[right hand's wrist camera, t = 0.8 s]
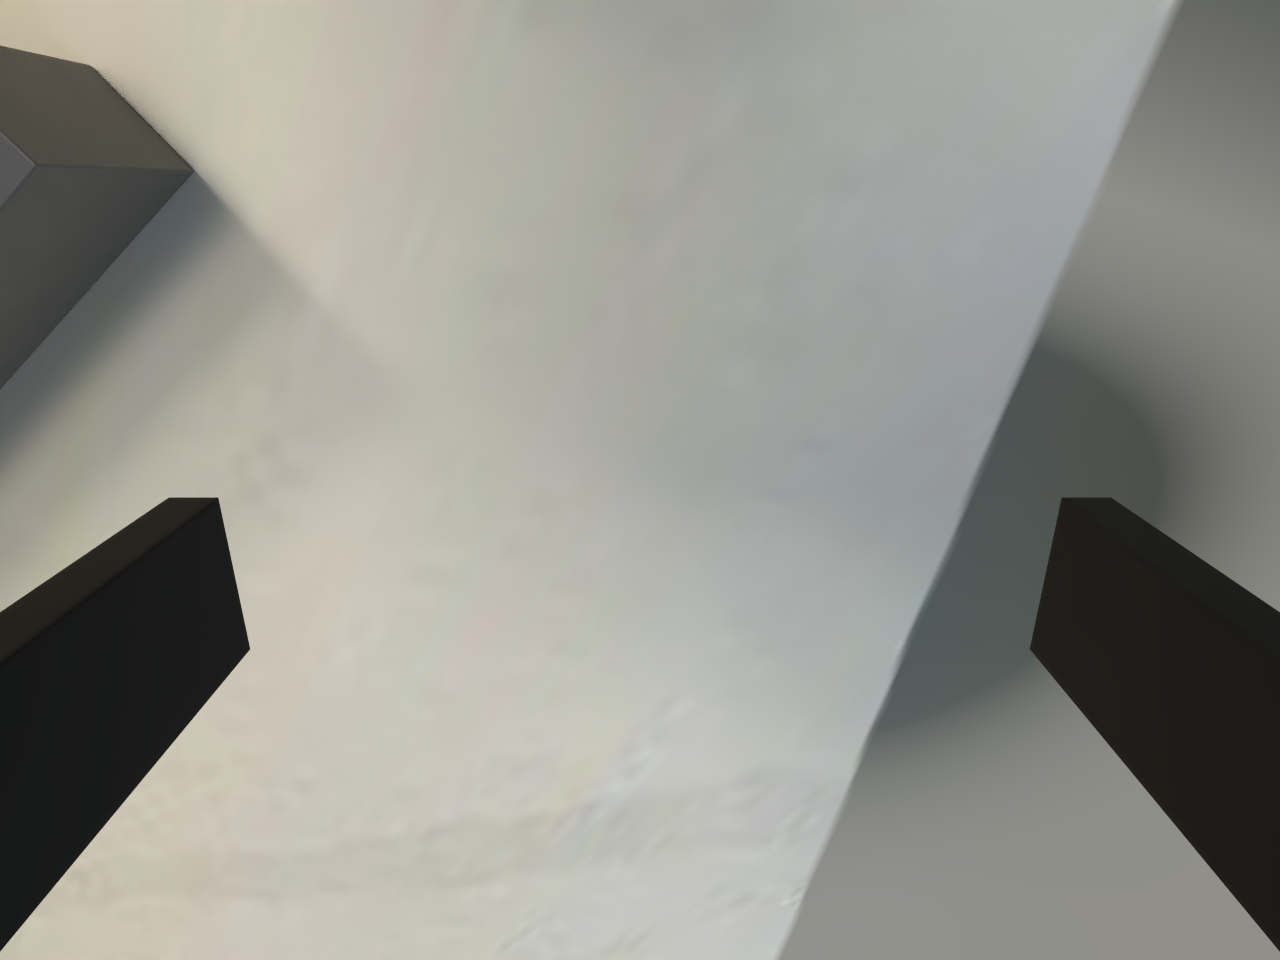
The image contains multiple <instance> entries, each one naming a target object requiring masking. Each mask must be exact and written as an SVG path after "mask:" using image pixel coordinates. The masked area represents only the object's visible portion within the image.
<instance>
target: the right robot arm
mask: <svg viewBox="0 0 1280 960" xmlns="http://www.w3.org/2000/svg"><path fill="white" fill-rule="evenodd" d="M249 650H250V646H249V642H248V637H247V632H246V627H245V623H244V618H243V613H242V608H241V604H240V599H239V594H238V589H237V585H236V580H235V575H234V570H233V566H232V561H231V556H230V551H229V547H228V542H227V537H226V532H225V528H224V523H223V518H222V513H221V509H220V504H219V499H218V498H168V499H166V500H165V501H163V502H162V503H160V504H159V505H157V506H156V507H155V508H153V509H152V510H150V511H149V512H147V513H146V514H144V515H143V516H141V517H140V518H138V519H137V520H135V521H134V522H132V523H131V524H130V525H128V526H127V527H125V528H124V529H122V530H121V531H119V532H118V533H116V534H115V535H113V536H112V537H110V538H109V539H107V540H106V541H105V542H103V543H102V544H100V545H99V546H97V547H96V548H94V549H93V550H91V551H90V552H88V553H87V554H85V555H84V556H82V557H81V558H80V559H78V560H77V561H75V562H74V563H72V564H71V565H69V566H68V567H66V568H65V569H63V570H62V571H60V572H59V573H57V574H56V575H54V576H53V577H52V578H50V579H49V580H47V581H46V582H44V583H43V584H41V585H40V586H38V587H37V588H35V589H34V590H32V591H31V592H29V593H28V594H27V595H25V596H24V597H22V598H21V599H19V600H18V601H16V602H15V603H13V604H12V605H10V606H9V607H7V608H6V609H4V610H3V611H2V612H0V951H1V950H2V949H3V947H4V946H5V945H6V944H7V943H8V941H9V940H10V939H11V938H12V937H13V935H14V934H15V933H16V932H17V930H18V929H19V928H20V927H21V926H22V924H23V923H24V922H25V921H26V920H27V918H28V917H29V916H30V915H31V914H32V912H33V911H34V910H35V909H36V907H37V906H38V905H39V904H40V903H41V901H42V900H43V899H44V898H45V897H46V895H47V894H48V893H49V892H50V891H51V889H52V888H53V887H54V886H55V885H56V883H57V882H58V881H59V880H60V878H61V877H62V876H63V875H64V874H65V872H66V871H67V870H68V869H69V868H70V866H71V865H72V864H73V863H74V862H75V860H76V859H77V858H78V857H79V855H80V854H81V853H82V852H83V851H84V849H85V848H86V847H87V846H88V845H89V843H90V842H91V841H92V840H93V839H94V837H95V836H96V835H97V834H98V832H99V831H100V830H101V829H102V828H103V826H104V825H105V824H106V823H107V822H108V820H109V819H110V818H111V817H112V816H113V814H114V813H115V812H116V811H117V810H118V808H119V807H120V806H121V805H122V803H123V802H124V801H125V800H126V799H127V797H128V796H129V795H130V794H131V793H132V791H133V790H134V789H135V788H136V787H137V785H138V784H139V783H140V782H141V780H142V779H143V778H144V777H145V776H146V774H147V773H148V772H149V771H150V770H151V768H152V767H153V766H154V765H155V764H156V762H157V761H158V760H159V759H160V757H161V756H162V755H163V754H164V753H165V751H166V750H167V749H168V748H169V747H170V745H171V744H172V743H173V742H174V741H175V739H176V738H177V737H178V736H179V735H180V733H181V732H182V731H183V730H184V728H185V727H186V726H187V725H188V724H189V722H190V721H191V720H192V719H193V718H194V716H195V715H196V714H197V713H198V712H199V710H200V709H201V708H202V707H203V705H204V704H205V703H206V702H207V701H208V699H209V698H210V697H211V696H212V695H213V693H214V692H215V691H216V690H217V689H218V687H219V686H220V685H221V684H222V682H223V681H224V680H225V679H226V678H227V676H228V675H229V674H230V673H231V672H232V670H233V669H234V668H235V667H236V666H237V664H238V663H239V662H240V661H241V660H242V658H243V657H244V656H245V655H246V653H247V652H248V651H249ZM1030 650H1031V651H1032V652H1033V653H1034V655H1035V656H1036V657H1037V658H1038V659H1039V661H1040V662H1041V663H1042V664H1043V666H1044V667H1045V668H1046V669H1047V670H1048V672H1049V673H1050V674H1051V675H1052V676H1053V678H1054V679H1055V680H1056V681H1057V682H1058V684H1059V685H1060V686H1061V687H1062V689H1063V690H1064V691H1065V692H1066V693H1067V695H1068V696H1069V697H1070V698H1071V699H1072V701H1073V702H1074V703H1075V704H1076V705H1077V707H1078V708H1079V709H1080V710H1081V712H1082V713H1083V714H1084V715H1085V716H1086V718H1087V719H1088V720H1089V721H1090V722H1091V724H1092V725H1093V726H1094V727H1095V728H1096V730H1097V731H1098V732H1099V733H1100V735H1101V736H1102V737H1103V738H1104V739H1105V741H1106V742H1107V743H1108V744H1109V745H1110V747H1111V748H1112V749H1113V750H1114V751H1115V753H1116V754H1117V755H1118V756H1119V757H1120V759H1121V760H1122V761H1123V762H1124V763H1125V765H1126V766H1127V767H1128V768H1129V770H1130V771H1131V772H1132V773H1133V774H1134V776H1135V777H1136V778H1137V779H1138V780H1139V782H1140V783H1141V784H1142V785H1143V787H1144V788H1145V789H1146V790H1147V791H1148V793H1149V794H1150V795H1151V796H1152V797H1153V799H1154V800H1155V801H1156V802H1157V803H1158V805H1159V806H1160V807H1161V808H1162V810H1163V811H1164V812H1165V813H1166V814H1167V816H1168V817H1169V818H1170V819H1171V820H1172V822H1173V823H1174V824H1175V825H1176V826H1177V828H1178V829H1179V830H1180V831H1181V832H1182V834H1183V835H1184V836H1185V837H1186V839H1187V840H1188V841H1189V842H1190V843H1191V845H1192V846H1193V847H1194V848H1195V849H1196V851H1197V852H1198V853H1199V854H1200V855H1201V857H1202V858H1203V859H1204V860H1205V862H1206V863H1207V864H1208V865H1209V866H1210V868H1211V869H1212V870H1213V871H1214V872H1215V874H1216V875H1217V876H1218V877H1219V878H1220V880H1221V881H1222V882H1223V883H1224V885H1225V886H1226V887H1227V888H1228V889H1229V891H1230V892H1231V893H1232V894H1233V895H1234V897H1235V898H1236V899H1237V900H1238V901H1239V903H1240V904H1241V905H1242V906H1243V907H1244V909H1245V910H1246V911H1247V912H1248V914H1249V915H1250V916H1251V917H1252V918H1253V920H1254V921H1255V922H1256V923H1257V924H1258V926H1259V927H1260V928H1261V929H1262V930H1263V932H1264V933H1265V934H1266V935H1267V937H1268V938H1269V939H1270V940H1271V941H1272V943H1273V944H1274V945H1275V946H1276V947H1277V949H1278V950H1279V951H1280V612H1278V611H1277V610H1276V609H1274V608H1273V607H1271V606H1270V605H1268V604H1267V603H1265V602H1264V601H1262V600H1261V599H1259V598H1258V597H1256V596H1255V595H1253V594H1252V593H1250V592H1249V591H1247V590H1246V589H1245V588H1243V587H1242V586H1240V585H1239V584H1237V583H1236V582H1234V581H1233V580H1231V579H1230V578H1228V577H1227V576H1226V575H1224V574H1223V573H1221V572H1220V571H1218V570H1217V569H1215V568H1214V567H1212V566H1211V565H1209V564H1208V563H1206V562H1205V561H1203V560H1202V559H1200V558H1199V557H1197V556H1196V555H1195V554H1193V553H1192V552H1190V551H1189V550H1187V549H1186V548H1184V547H1183V546H1181V545H1180V544H1178V543H1177V542H1175V541H1174V540H1172V539H1171V538H1170V537H1168V536H1167V535H1165V534H1164V533H1162V532H1161V531H1159V530H1158V529H1156V528H1155V527H1153V526H1152V525H1150V524H1149V523H1147V522H1146V521H1145V520H1143V519H1142V518H1140V517H1139V516H1137V515H1136V514H1134V513H1133V512H1131V511H1130V510H1128V509H1127V508H1125V507H1124V506H1122V505H1121V504H1119V503H1118V502H1117V501H1115V500H1114V499H1112V498H1062V499H1061V504H1060V509H1059V513H1058V518H1057V523H1056V528H1055V532H1054V537H1053V542H1052V547H1051V551H1050V556H1049V561H1048V566H1047V570H1046V575H1045V580H1044V585H1043V589H1042V594H1041V599H1040V604H1039V608H1038V613H1037V618H1036V623H1035V627H1034V632H1033V637H1032V642H1031V646H1030Z"/></svg>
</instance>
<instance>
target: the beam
mask: <svg viewBox="0 0 1280 960" xmlns="http://www.w3.org/2000/svg"><path fill="white" fill-rule="evenodd" d="M192 173H193V169H192V168H191V167H190V166H189V165H188V164H187V163H186V162H185V161H184V160H183V159H182V158H181V157H180V156H179V155H178V154H177V153H176V152H175V151H174V150H173V149H172V148H171V147H170V146H169V145H168V144H167V143H166V142H165V141H164V140H163V139H162V138H161V137H160V136H159V135H158V134H157V133H156V132H155V131H154V130H153V129H152V128H151V127H150V126H149V125H148V124H147V123H146V122H145V121H144V120H143V119H142V118H141V117H140V116H139V115H138V114H137V113H136V112H135V111H134V110H133V109H132V108H131V107H130V106H129V105H128V104H127V102H126V101H125V100H124V99H123V98H122V97H121V96H120V95H119V94H118V93H117V92H116V91H115V90H114V89H113V88H112V87H111V86H110V85H109V84H108V83H107V82H106V81H105V80H104V79H103V78H102V77H101V76H100V75H99V74H98V73H97V72H96V71H95V70H94V69H93V68H92V67H91V66H89V65H86V64H81V63H77V62H72V61H68V60H63V59H59V58H54V57H49V56H45V55H40V54H36V53H31V52H27V51H22V50H17V49H13V48H8V47H4V46H0V388H1V387H2V386H3V385H4V384H5V383H6V382H7V381H8V379H9V378H10V377H11V376H12V375H13V374H14V373H15V372H16V370H17V369H18V368H19V367H20V366H21V365H22V364H23V363H24V361H25V360H26V359H27V358H28V357H29V356H30V355H31V354H32V352H33V351H34V350H35V349H36V348H37V347H38V346H39V345H40V343H41V342H42V341H43V340H44V339H45V338H46V337H47V336H48V334H49V333H50V332H51V331H52V330H53V329H54V328H55V327H56V325H57V324H58V323H59V322H60V321H61V320H62V319H63V318H64V316H65V315H66V314H67V313H68V312H69V311H70V310H71V309H72V307H73V306H74V305H75V304H76V303H77V302H78V301H79V300H80V298H81V297H82V296H83V295H84V294H85V293H86V292H87V291H88V289H89V288H90V287H91V286H92V285H93V284H94V283H95V282H96V280H97V279H98V278H99V277H100V276H101V275H102V274H103V273H104V271H105V270H106V269H107V268H108V267H109V266H110V265H111V264H112V263H113V261H114V260H115V259H116V258H117V257H118V256H119V255H120V254H121V252H122V251H123V250H124V249H125V248H126V247H127V246H128V245H129V243H130V242H131V241H132V240H133V239H134V238H135V237H136V236H137V234H138V233H139V232H140V231H141V230H142V229H143V228H144V227H145V225H146V224H147V223H148V222H149V221H150V220H151V219H152V218H153V216H154V215H155V214H156V213H157V212H158V211H159V210H160V209H161V207H162V206H163V205H164V204H165V203H166V202H167V201H168V200H169V198H170V197H171V196H172V195H173V194H174V193H175V192H176V191H177V189H178V188H179V187H180V186H181V185H182V184H183V183H184V182H185V180H186V179H187V178H188V177H189V176H190V175H191V174H192Z"/></svg>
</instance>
